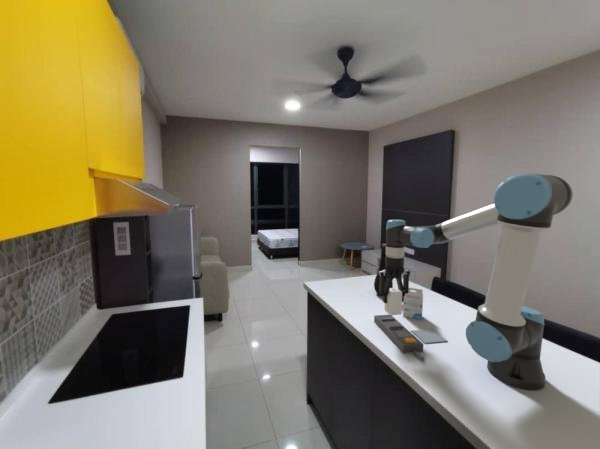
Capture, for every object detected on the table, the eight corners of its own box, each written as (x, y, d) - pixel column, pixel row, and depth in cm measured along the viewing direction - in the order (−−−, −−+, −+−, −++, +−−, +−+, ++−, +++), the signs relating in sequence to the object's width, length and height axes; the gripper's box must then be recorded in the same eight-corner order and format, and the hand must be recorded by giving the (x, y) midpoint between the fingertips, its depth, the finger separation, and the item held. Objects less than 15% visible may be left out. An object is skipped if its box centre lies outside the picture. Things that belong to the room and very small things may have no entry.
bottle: (369, 292, 168) (371, 243, 165) (383, 290, 172) (385, 242, 169) (382, 298, 158) (384, 246, 155) (396, 296, 163) (398, 245, 160)
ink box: (422, 316, 136) (424, 286, 135) (421, 320, 132) (423, 289, 130) (403, 312, 140) (405, 283, 139) (402, 316, 136) (403, 286, 134)
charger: (401, 314, 118) (402, 290, 117) (390, 315, 118) (390, 291, 117) (395, 309, 123) (396, 287, 122) (384, 310, 123) (385, 287, 122)
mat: (447, 341, 113) (447, 340, 113) (424, 343, 111) (424, 342, 111) (432, 329, 123) (432, 328, 123) (411, 331, 121) (411, 330, 121)
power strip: (432, 360, 100) (433, 350, 99) (412, 362, 98) (412, 352, 98) (390, 320, 131) (390, 312, 131) (374, 321, 130) (374, 313, 129)
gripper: (409, 253, 123) (407, 305, 125) (370, 255, 120) (369, 307, 123) (419, 257, 116) (417, 311, 118) (378, 259, 113) (376, 314, 115)
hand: (393, 309), depth 120 cm, fingers closed on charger, 5 cm apart
